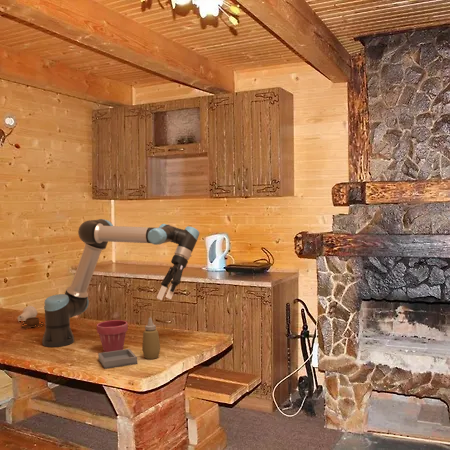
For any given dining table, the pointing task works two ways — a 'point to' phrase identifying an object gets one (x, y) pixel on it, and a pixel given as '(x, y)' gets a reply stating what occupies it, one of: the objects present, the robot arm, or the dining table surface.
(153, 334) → the squeeze bottle
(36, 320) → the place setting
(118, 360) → the tray
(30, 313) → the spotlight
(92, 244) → the robot arm
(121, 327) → the plant pot
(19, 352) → the dining table surface
